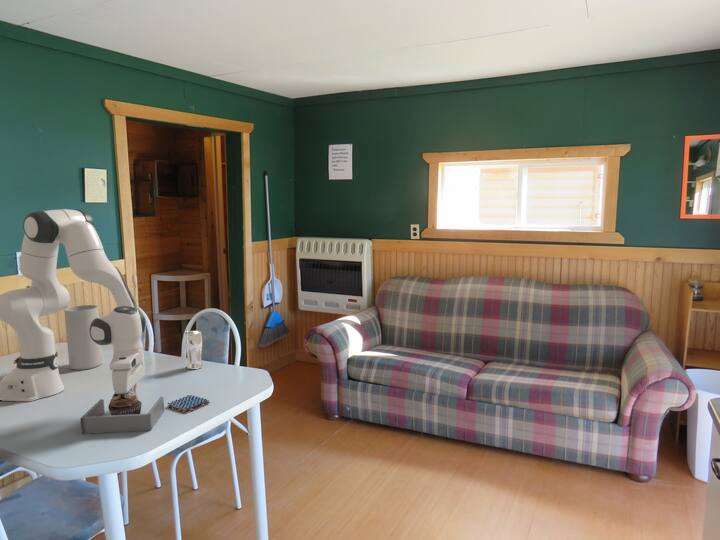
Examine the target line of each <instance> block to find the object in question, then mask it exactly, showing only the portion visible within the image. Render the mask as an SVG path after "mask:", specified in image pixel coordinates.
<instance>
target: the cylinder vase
mask: <svg viewBox="0 0 720 540" xmlns="http://www.w3.org/2000/svg"><path fill="white" fill-rule="evenodd" d="M63 310H64V321H65V323H64V324H65V332H66V333H65V334H66V343H67V344H66V345H67V353H68V354H67V355H68V365H69V368H70V369H71V370H74V371H75V370H76V371H81V370H82V371H83V370H90V369H95V368H97V367H99V366H101V365H102V364H103V352H102V345H98V344H96V343H95V342H94V341H93V340H92V339H91V336H90V325H91V323H92V321H93V320H94V319H96V318H98V317H100V315H99V305H96V304H84V305H83V304H81V305H74V306H70V307H66V308H65V309H63Z"/></svg>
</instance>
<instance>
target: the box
mask: <svg viewBox="0 0 720 540" xmlns="http://www.w3.org/2000/svg"><path fill="white" fill-rule="evenodd" d="M164 398H165V397H164V396H160V397H158V399H157V400H156V402H155V403H154V404H153V405H152V406H151V408H150V409H149V410H148V412H147V413H140V414H130V415H111V414H110V415H105V401H104V399H102V398H101V399H99V400H98V401H97V402H96V403H95V404H94V405H93V406H92V407H91V408H89V410H88V411H86V413H84V414H83V415H82V416H81V417H80V427H81V429H80V430H81V435H91V433H95V434H105V433H104V432H114V433H130V432H129V431H134V432H149V431H152V430H153V428H154V426H156V424H157V422H159V420H160V418H161V417H162V415H163V414H164V413H165V403H164V402H165V400H164ZM158 419H159V420H158Z"/></svg>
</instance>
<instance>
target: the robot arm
mask: <svg viewBox="0 0 720 540" xmlns="http://www.w3.org/2000/svg"><path fill="white" fill-rule="evenodd" d="M22 227H23V228H22V229H23V231H24V235H23V239H22V243H21V249H20V258H19V272H20V274H21V275H22V276H23V277H25V278H26V279H28V280H30V281H31V285H30V286H29V287H25V288H24V287H23V288H18V289H13V290H9V291H6V292H4V293H1V294H0V321H2V322H3V323H6V324H8V325H9V326H10V327H11V329H13V331H14V332H15V333H14V334H16V336H17V341H18V346H19V347H18V348H19V353H20V356H19V357H17V358H16V359H14V360H13V361H12V362H13V363H12V364H13V365H14V364H15V368H13V369H12V370H11V371H10V372H8V374H6V375H5V376H4V377H3V378H2V379H1V380H0V400H2V402H4V401H5V402H33V401H35V400H36V401H37V400H38V399H43V398H47V397H50V396H53V395H57V394H59V393H61V392H63V391H64V390H65V386H64V383H63V380H62V379H61V375H60V370H59V357H58V352H57V350H56V337H55V332H54V331H53V330H52V329H51V328H48V326H43V325H42V324H41V323H40V320H39V317H43V316H47V315H53V314H56V313H58V312H61V311H62V310H64V309H66V308H68V306H69V304H70V301H71V297H70V293H69V290H68V289H67V288H66V287H65V286H64V285H62V284H61V283H60V281H59V280H58V277H57V276H58V275H57V265H58V264H57V263H58V255H59V246H60V243H61V244H62V245H63V247H64V249H65V253H66V257H67V261H68V263H69V266H70V269H71V271H72V273H73V274H74V275H75V276H76V277H77V278H78V279H81V280H83V281H85V282H88V283H89V282H90V283H94V284H98V285H102V286H104V287H106V288H107V289H108V290H109V291H110V293H111V295H112V296H113V299H114V301H115V303H116V306H117V307H114V308H113V309H112V310H111V311H110V312H109V313H107V314H104V315H101V316H99V317H98V318H96V319H94V320H93V321H92V323H91V325H90V336H91V339H92V340H93V341H94V342H95V343H96V344H98V345H101V346H107V345H113V355H112V359H111V361H110V363H109V370H110V371H112V372H111V380H112V387H113V391H114V393H116V394H126V393H127V392H128V391H129V390H130V391H132V392H133V393H134V394H135V395H136V396H137V389H138V388H137V387H138V382H139V381H141V379H142V378H143V377H144V376H145V374H146V370H147V369H146V360H145V355H144V352H145V351H144V344H143V341H142V336H143V334H144V332H145V329H146V327H147V320H146V318H145V316H144V314H143V313H142V311H141V310H140V308H139V307H138V304H137V303H136V301H135V298H134V296H133V295H132V293H131V290H130V288H129V286H128V284H127V282H126V280H125V278H124V276H123V274H122V272H121V271H120V270H119V268H118V267H117V266H115V265H113V263H112V262H111V261H110V260H109V259H108V257H107V254H106V252H105V250H104V246H103V243H102V241H101V239H100V237H99V234H98V232H97V231H96V230H97V229H96V228H95V222H94V219H93V217H92V215H91V214H90V213H89V212H88V211H85V210H81V209H67V208H63V209H62V208H59V209H50V210H37V211H35V210H34V211H32V212H30V213H28V214H27V215H26V216H25V218H24V220H23V226H22Z"/></svg>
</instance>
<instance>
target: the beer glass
mask: <svg viewBox="0 0 720 540" xmlns="http://www.w3.org/2000/svg"><path fill="white" fill-rule="evenodd" d="M183 338H184V339H183V341H184V348H185V349H184V350H185V353H186V354H185V355H186V358H187V366H186V368H188V369H187V370H189V369H196V370H200V369H203V363H202V350H203V337H202V331H201V330H188V331H184V337H183ZM199 368H200V369H199Z"/></svg>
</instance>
